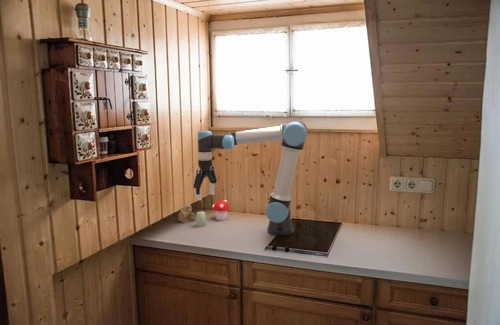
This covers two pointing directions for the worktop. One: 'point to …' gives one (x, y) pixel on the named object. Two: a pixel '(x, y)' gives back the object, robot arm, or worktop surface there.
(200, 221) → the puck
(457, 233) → the worktop surface
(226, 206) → the mushroom
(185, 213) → the tower top
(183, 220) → the tower base
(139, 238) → the worktop surface
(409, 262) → the worktop surface
